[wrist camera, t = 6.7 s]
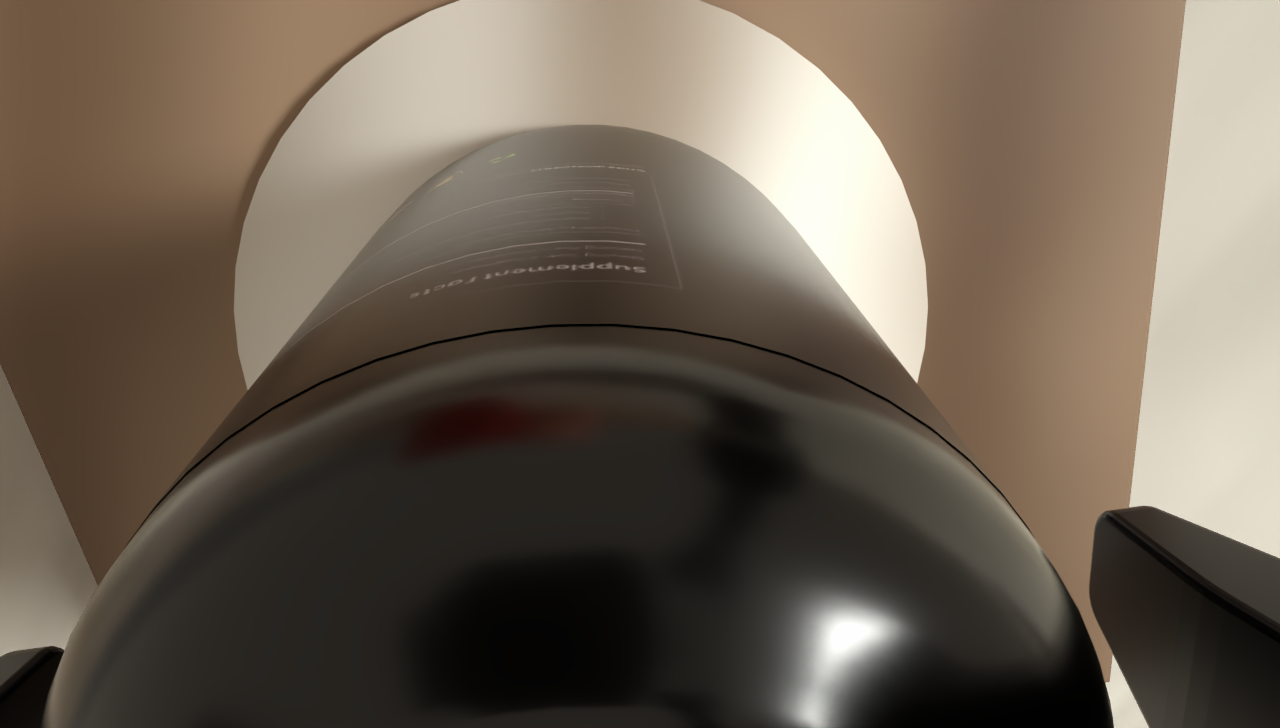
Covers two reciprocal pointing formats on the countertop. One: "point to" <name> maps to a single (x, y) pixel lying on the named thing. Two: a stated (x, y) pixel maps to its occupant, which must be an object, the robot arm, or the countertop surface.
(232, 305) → the walnut board
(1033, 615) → the supplement bottle
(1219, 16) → the countertop surface
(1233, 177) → the countertop surface
